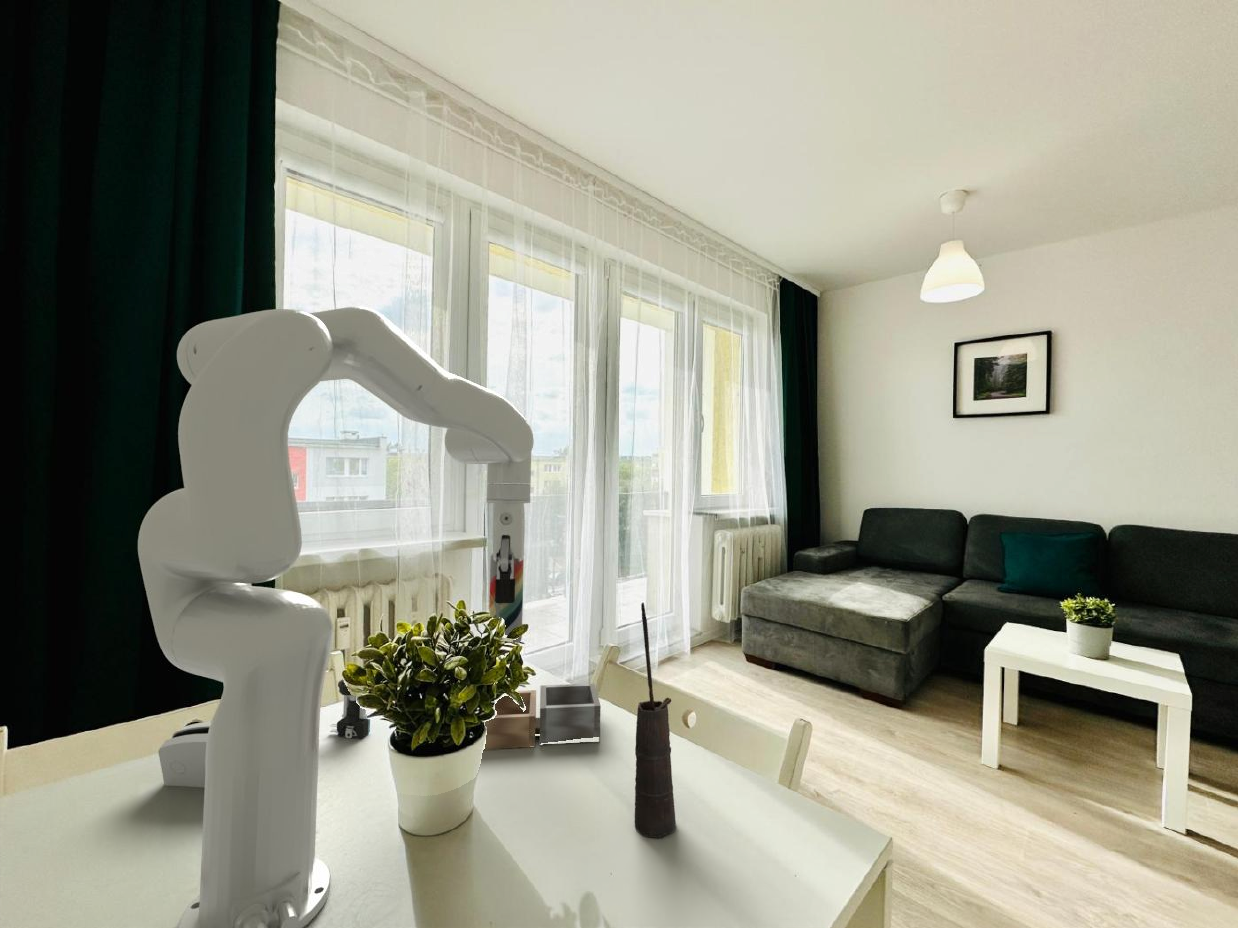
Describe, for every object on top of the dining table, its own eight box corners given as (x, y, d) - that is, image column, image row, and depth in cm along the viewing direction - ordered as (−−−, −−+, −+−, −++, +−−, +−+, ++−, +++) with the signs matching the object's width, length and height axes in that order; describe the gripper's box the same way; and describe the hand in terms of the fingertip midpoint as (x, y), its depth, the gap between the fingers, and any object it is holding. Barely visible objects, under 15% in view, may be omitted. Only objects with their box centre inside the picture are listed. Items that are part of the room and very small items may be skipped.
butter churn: (678, 794, 74) (680, 592, 75) (710, 838, 65) (712, 607, 66) (615, 805, 71) (618, 595, 72) (639, 853, 62) (643, 611, 63)
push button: (321, 741, 87) (323, 679, 88) (340, 726, 92) (342, 668, 93) (359, 743, 87) (362, 681, 87) (377, 728, 92) (379, 670, 92)
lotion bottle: (481, 644, 90) (484, 526, 90) (499, 635, 95) (502, 523, 96) (511, 647, 88) (514, 527, 89) (527, 638, 93) (530, 525, 94)
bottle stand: (593, 714, 99) (594, 682, 99) (600, 743, 88) (600, 706, 88) (474, 720, 96) (475, 686, 96) (465, 750, 85) (466, 712, 85)
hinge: (301, 771, 78) (287, 716, 75) (279, 799, 74) (264, 743, 71) (193, 765, 79) (176, 711, 76) (165, 794, 75) (146, 737, 72)
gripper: (529, 495, 85) (526, 609, 84) (531, 493, 102) (529, 588, 101) (481, 495, 83) (477, 610, 83) (491, 493, 100) (489, 589, 100)
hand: (506, 597), depth 92 cm, fingers closed on lotion bottle, 5 cm apart
